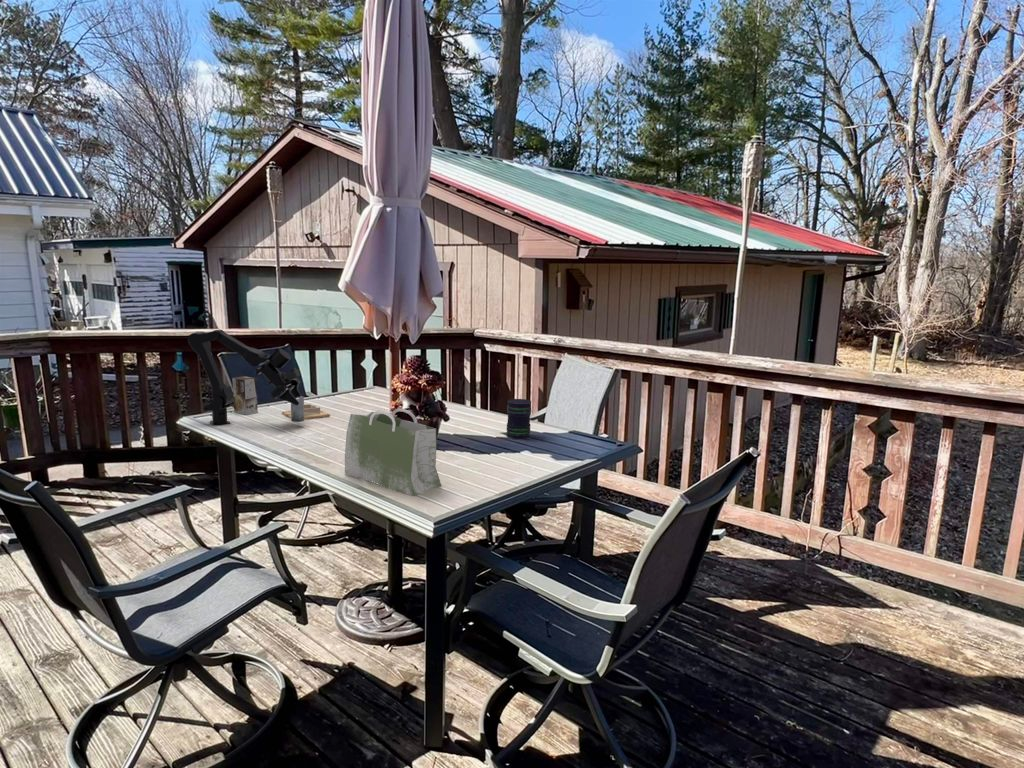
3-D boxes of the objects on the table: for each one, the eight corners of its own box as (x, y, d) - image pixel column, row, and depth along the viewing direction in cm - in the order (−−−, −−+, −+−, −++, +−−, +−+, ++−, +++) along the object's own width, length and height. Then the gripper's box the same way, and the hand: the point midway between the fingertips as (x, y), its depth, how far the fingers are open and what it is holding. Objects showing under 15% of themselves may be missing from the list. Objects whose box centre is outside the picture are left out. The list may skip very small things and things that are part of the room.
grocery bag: (444, 485, 198) (445, 413, 194) (413, 496, 187) (413, 420, 183) (374, 464, 216) (373, 398, 212) (342, 474, 205) (341, 404, 201)
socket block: (282, 414, 286) (281, 405, 285) (316, 410, 296) (316, 401, 295) (295, 421, 273) (294, 412, 273) (330, 416, 283) (330, 408, 283)
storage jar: (502, 437, 258) (503, 401, 256) (512, 432, 267) (513, 397, 264) (524, 440, 254) (525, 404, 251) (533, 435, 263) (535, 400, 260)
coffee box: (258, 412, 286) (257, 377, 284) (245, 415, 281) (244, 379, 278) (246, 410, 291) (244, 375, 288) (233, 412, 286) (231, 377, 283)
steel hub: (289, 419, 264) (288, 396, 262) (301, 418, 267) (301, 395, 266) (293, 422, 260) (293, 398, 259) (306, 421, 263) (305, 397, 262)
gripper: (278, 365, 251) (306, 394, 252) (295, 359, 269) (321, 386, 271) (259, 384, 252) (287, 412, 254) (277, 377, 270) (303, 403, 272)
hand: (300, 402), depth 262 cm, fingers closed on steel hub, 5 cm apart
